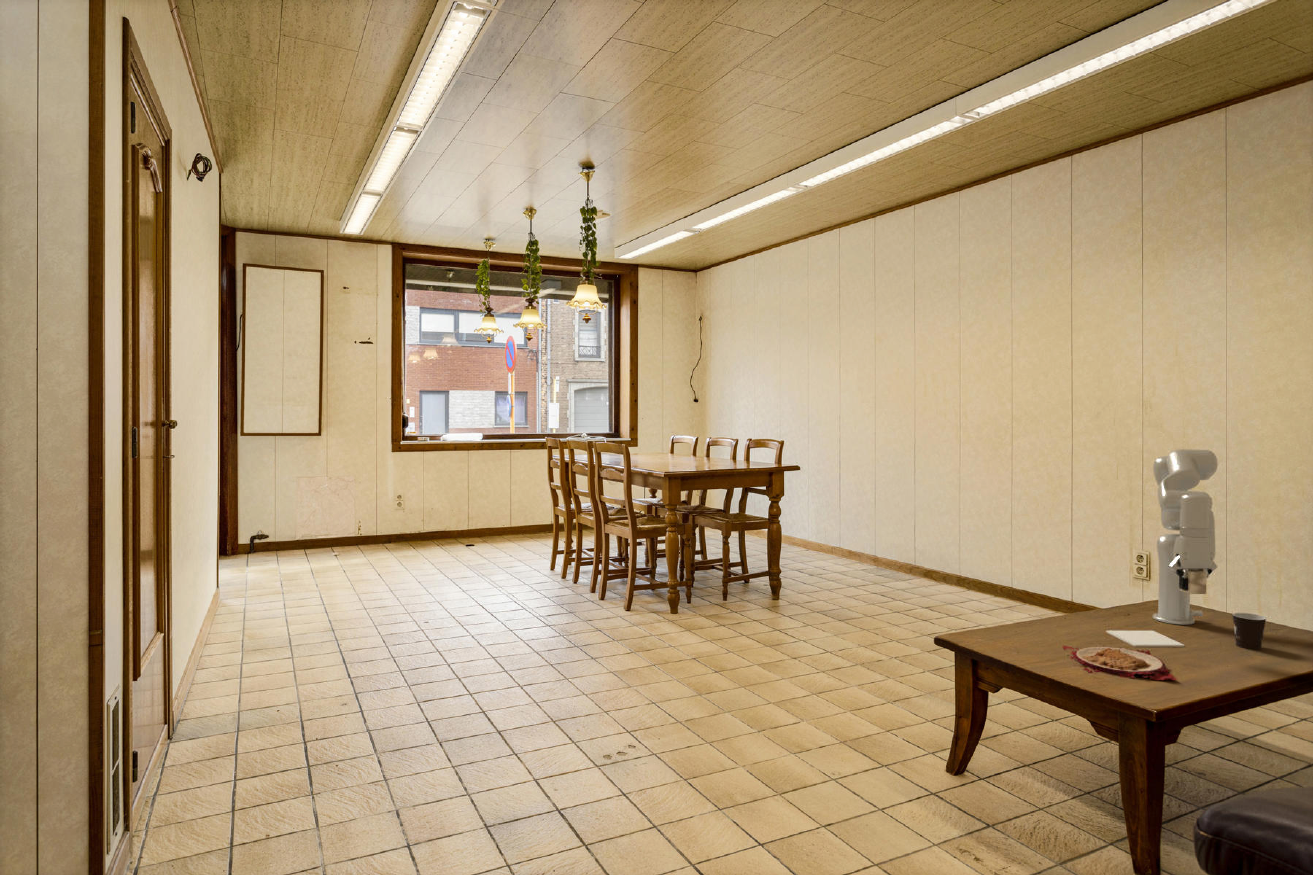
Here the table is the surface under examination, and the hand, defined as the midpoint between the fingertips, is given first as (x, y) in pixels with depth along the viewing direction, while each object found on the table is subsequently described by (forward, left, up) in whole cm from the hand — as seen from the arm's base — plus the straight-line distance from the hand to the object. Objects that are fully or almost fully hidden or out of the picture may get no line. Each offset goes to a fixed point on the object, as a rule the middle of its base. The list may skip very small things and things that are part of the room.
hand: (1192, 588), depth 244 cm
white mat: (+7, -12, -20) cm, 25 cm away
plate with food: (+31, +13, -21) cm, 40 cm away
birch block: (0, 0, -1) cm, 1 cm away
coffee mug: (-23, -5, -20) cm, 31 cm away
